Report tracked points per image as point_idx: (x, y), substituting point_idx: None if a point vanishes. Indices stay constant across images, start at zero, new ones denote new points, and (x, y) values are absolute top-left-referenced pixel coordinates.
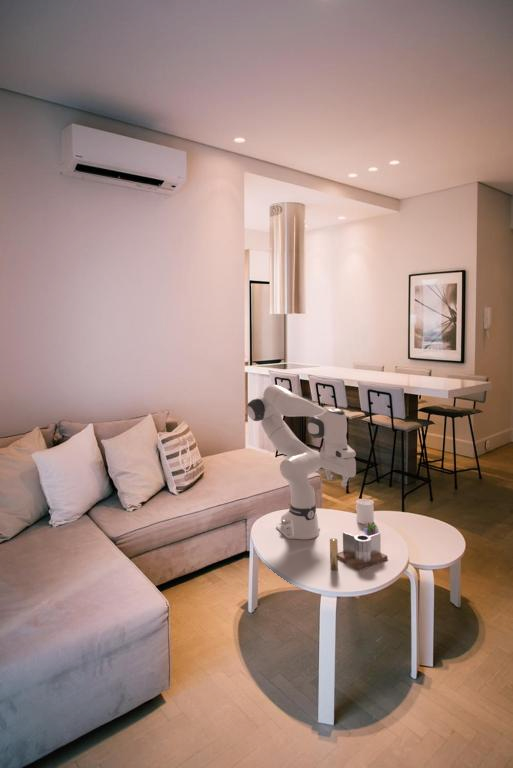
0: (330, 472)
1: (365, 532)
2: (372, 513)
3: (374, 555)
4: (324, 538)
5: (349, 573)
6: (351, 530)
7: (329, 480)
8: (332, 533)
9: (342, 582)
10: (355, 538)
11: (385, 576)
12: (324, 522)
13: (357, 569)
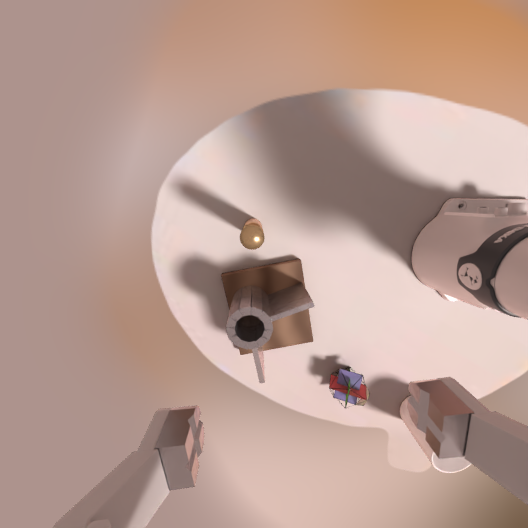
0: (516, 495)
1: (348, 373)
2: (413, 436)
3: None
4: (396, 284)
5: (219, 247)
6: (396, 359)
7: (411, 383)
8: (408, 314)
9: (190, 211)
10: (254, 309)
11: (179, 307)
12: (471, 328)
13: (227, 272)
